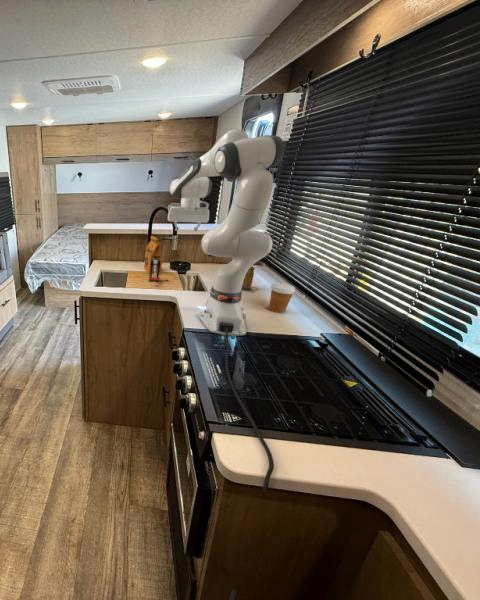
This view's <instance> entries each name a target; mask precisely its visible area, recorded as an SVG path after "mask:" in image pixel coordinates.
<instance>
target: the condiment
mask: <svg viewBox="0 0 480 600" xmlns="http://www.w3.org/2000/svg"><path fill="white" fill-rule="evenodd" d="M254 275H255V267H254V266H251V267H250V268H249V270H248V271H247V273H246V275H245V278H244V281H243V284H242V288H241V290H243V291H246V292H254V291H256V290H257V288H256V287H254V286H253V287H252V284H253V280H254Z"/></svg>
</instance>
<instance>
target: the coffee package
mask: <svg viewBox="0 0 480 600" xmlns="http://www.w3.org/2000/svg"><path fill="white" fill-rule="evenodd" d="M150 239H151V240H150V241H149V243H148V244H147V245H146V246H145V256H144V270H145V271H146V272H147V273H149V274H150V265H151V264H150V261H151V259H153V261H154V260H158V259H160V262H161V264H160V270H159V274H161V273H162V266H163V252H162V247H161V244H160V241H159V239H158V237H156V236H154V235H151V236H150ZM157 266H158V264H157ZM157 266H156V274H157ZM152 274H154V266H153V267H152Z"/></svg>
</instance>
